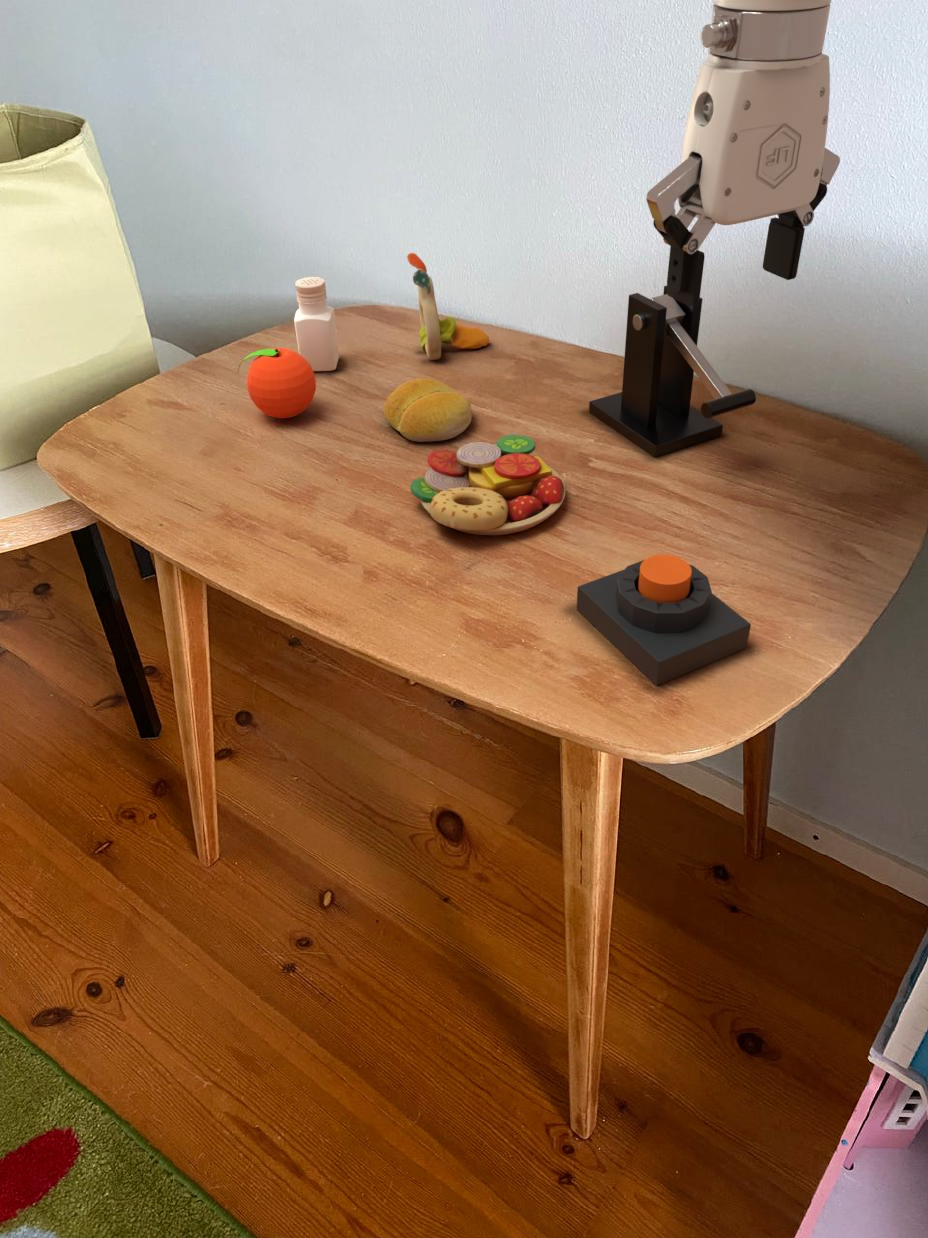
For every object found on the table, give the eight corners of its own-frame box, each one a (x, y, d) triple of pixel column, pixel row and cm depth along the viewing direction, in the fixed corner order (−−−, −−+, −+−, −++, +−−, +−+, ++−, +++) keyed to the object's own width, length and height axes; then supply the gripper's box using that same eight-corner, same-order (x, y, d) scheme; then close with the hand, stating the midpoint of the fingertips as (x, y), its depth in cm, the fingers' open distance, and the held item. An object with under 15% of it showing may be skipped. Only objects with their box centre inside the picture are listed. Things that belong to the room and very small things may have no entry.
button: (699, 594, 70) (702, 574, 69) (658, 610, 69) (660, 590, 67) (668, 568, 72) (670, 549, 71) (628, 583, 71) (629, 564, 70)
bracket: (721, 435, 95) (740, 306, 87) (654, 457, 92) (667, 325, 84) (652, 392, 103) (663, 270, 95) (588, 411, 100) (594, 287, 92)
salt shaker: (336, 372, 109) (326, 287, 104) (300, 373, 110) (288, 288, 104) (340, 357, 113) (330, 274, 107) (306, 358, 113) (294, 275, 107)
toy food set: (445, 558, 81) (443, 524, 79) (394, 482, 90) (391, 451, 88) (590, 520, 84) (592, 487, 82) (526, 451, 94) (526, 420, 92)
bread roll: (419, 453, 94) (416, 415, 92) (373, 419, 100) (370, 382, 98) (490, 428, 98) (489, 391, 95) (442, 396, 104) (440, 360, 101)
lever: (749, 411, 88) (760, 393, 86) (705, 425, 87) (715, 407, 84) (673, 309, 93) (682, 289, 91) (629, 320, 91) (637, 300, 89)
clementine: (233, 428, 100) (220, 362, 95) (255, 397, 105) (243, 333, 101) (309, 431, 99) (299, 365, 94) (327, 400, 104) (319, 336, 100)
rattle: (483, 367, 109) (480, 263, 102) (410, 366, 110) (402, 262, 103) (490, 340, 115) (488, 239, 108) (421, 339, 116) (414, 239, 109)
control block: (746, 647, 71) (755, 603, 68) (656, 686, 68) (661, 641, 65) (661, 577, 78) (666, 535, 75) (576, 609, 75) (578, 566, 72)
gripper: (701, 59, 61) (673, 327, 71) (902, 28, 67) (848, 279, 78) (628, 43, 66) (612, 295, 76) (821, 15, 72) (781, 252, 83)
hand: (731, 286), depth 77 cm, fingers open, 9 cm apart
